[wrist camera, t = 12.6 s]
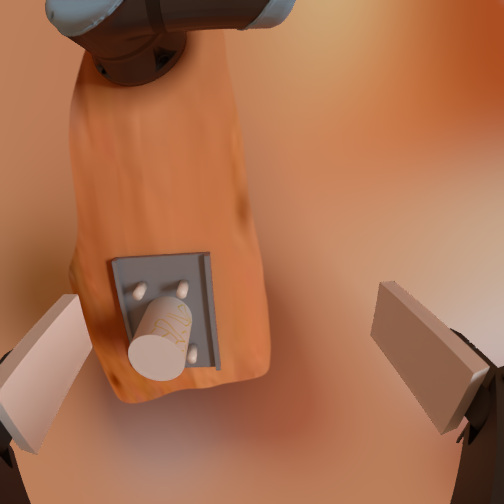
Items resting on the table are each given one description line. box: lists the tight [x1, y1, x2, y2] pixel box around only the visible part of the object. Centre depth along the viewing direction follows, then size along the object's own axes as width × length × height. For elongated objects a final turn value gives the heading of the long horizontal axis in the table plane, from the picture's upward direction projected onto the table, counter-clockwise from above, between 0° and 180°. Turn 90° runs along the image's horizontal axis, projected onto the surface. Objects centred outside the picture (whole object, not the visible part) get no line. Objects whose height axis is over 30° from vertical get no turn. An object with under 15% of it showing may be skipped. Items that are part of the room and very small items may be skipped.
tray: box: [112, 252, 221, 370], centre depth 48 cm, size 22×16×5 cm
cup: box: [128, 296, 192, 381], centre depth 44 cm, size 8×8×12 cm
